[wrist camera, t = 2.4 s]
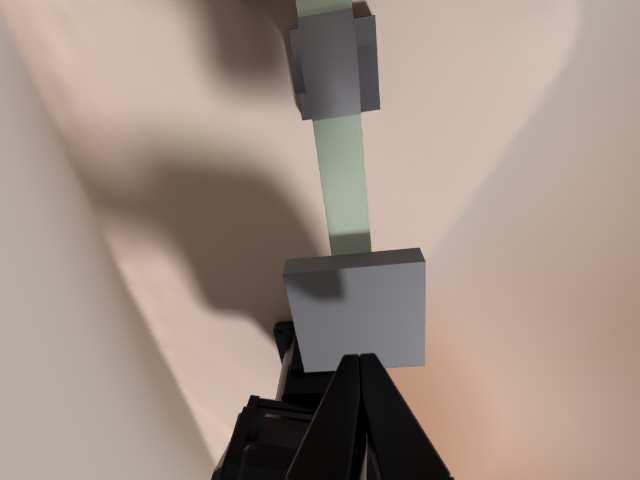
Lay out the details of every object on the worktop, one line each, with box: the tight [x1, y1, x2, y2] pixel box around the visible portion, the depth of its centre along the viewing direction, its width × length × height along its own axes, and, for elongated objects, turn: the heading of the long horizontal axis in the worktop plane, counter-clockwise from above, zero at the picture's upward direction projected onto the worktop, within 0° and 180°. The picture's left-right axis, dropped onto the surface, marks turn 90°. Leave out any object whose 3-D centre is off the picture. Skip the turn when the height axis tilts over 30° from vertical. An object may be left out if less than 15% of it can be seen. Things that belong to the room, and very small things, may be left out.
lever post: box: [288, 15, 380, 120], centre depth 13 cm, size 4×4×8 cm
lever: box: [283, 0, 426, 372], centre depth 9 cm, size 19×4×6 cm, turn 8°
